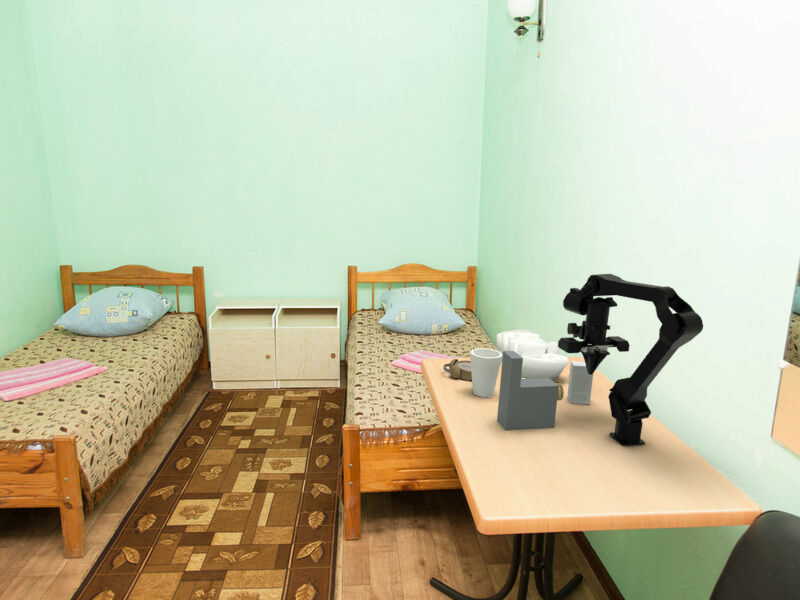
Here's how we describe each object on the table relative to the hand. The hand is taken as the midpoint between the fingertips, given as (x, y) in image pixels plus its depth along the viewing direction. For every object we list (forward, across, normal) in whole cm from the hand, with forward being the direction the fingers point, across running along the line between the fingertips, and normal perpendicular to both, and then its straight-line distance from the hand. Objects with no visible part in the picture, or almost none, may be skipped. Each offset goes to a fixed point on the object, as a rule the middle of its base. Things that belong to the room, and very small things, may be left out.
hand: (589, 374), depth 157 cm
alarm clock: (+14, +23, -36) cm, 45 cm away
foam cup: (+13, +23, -20) cm, 33 cm away
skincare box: (+13, -4, -11) cm, 18 cm away
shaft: (+6, +16, +2) cm, 17 cm away
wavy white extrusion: (+13, -2, -42) cm, 44 cm away
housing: (+13, +19, +2) cm, 23 cm away
